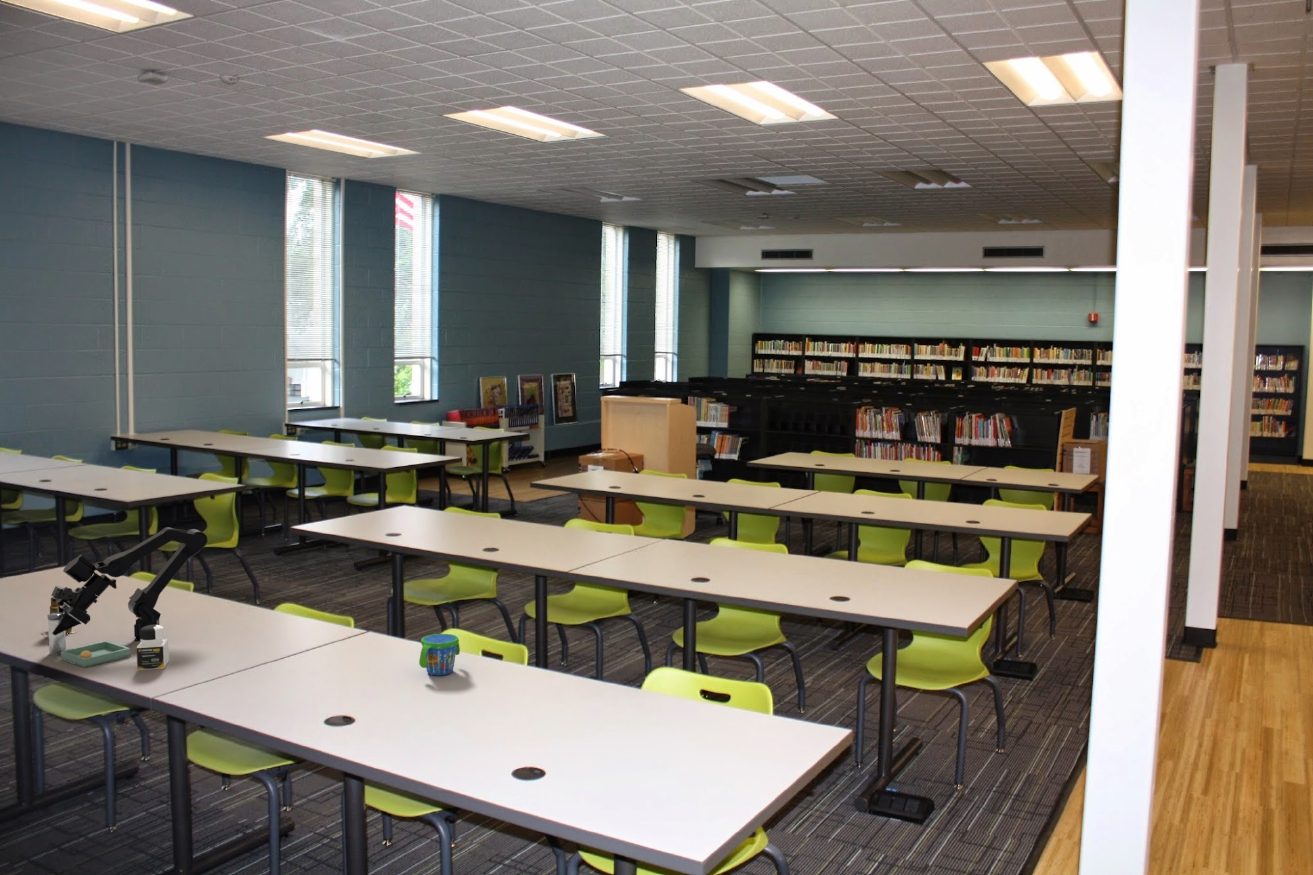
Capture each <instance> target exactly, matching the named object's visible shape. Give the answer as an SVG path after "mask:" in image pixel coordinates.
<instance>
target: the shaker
mask: <svg viewBox="0 0 1313 875" xmlns="http://www.w3.org/2000/svg"><path fill="white" fill-rule="evenodd" d="M62 619H63V613H52V614H50V613H49V614H47V626H48V627H47V628H48V631H49V637H48V646H49V647H48V650H49V655H50V654H51V656H59V655H58V654H61V651H64V650H67V642H66V641H67V639H66V638H67V637H66V636H67V634H66V635H65V631H63V632H61V633H59V634H57V635H54V634H52V633H53V631H54V630H55V628H56V627H57V625H58V624H59V623H60V621H61V620H62Z"/></svg>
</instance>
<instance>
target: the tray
mask: <svg viewBox="0 0 1313 875" xmlns="http://www.w3.org/2000/svg"><path fill="white" fill-rule="evenodd" d="M85 650H88V651H90V652H91V654H92V656H91V657H89V658H83V657H80V654H81V653H82V652H83V651H85ZM131 656H132V654H131V648H130V647H128V646H124V645H121V644H118V643H115V642H112V641H109V640H103V641H99V642H94V643H91V644H87V645H82V646H77V647H74V648H69V649H66V650H64V651H61V655H60V658H61V659H63V660H62V661H64V660H66V661H65V662H67V661H69V662H68V663H70V662H72V663H74V664H73V665H75V664H77V665H76V666H78V665H79V667H81V666H82V667H81V668H83V667H84V669H85V668H89V666H90V667H94V666H97V665H102V664H105V663H110V662H114V661H118V660H122V659H125V658H131ZM61 659H60V660H61ZM72 663H71V664H72Z"/></svg>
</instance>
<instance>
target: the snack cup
mask: <svg viewBox="0 0 1313 875" xmlns="http://www.w3.org/2000/svg"><path fill="white" fill-rule="evenodd" d="M459 641H460V640H459V637H458V636H457V635H456V634H452V633H450V634H449V633H434V634H429V635H426V636H425V635H424V636H423V637H422V638H421V640H420V643H421V646H422V648H421V650H420V656H419V662H418V663H419V666H420V667H421V668H423V669H426V672H427V673H428V674H429V675H431V676H446V675H449V674H451V673H452V672H454V667H455V662H456V661H455V660H456V656H457V655H460V651H461V647H460V642H459Z"/></svg>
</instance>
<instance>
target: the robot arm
mask: <svg viewBox="0 0 1313 875" xmlns="http://www.w3.org/2000/svg"><path fill="white" fill-rule="evenodd" d="M208 541H209V540H208V536H207V535H206V533H204V532H203V531H200V530H199V529H195V528H192V529H191V528H190V529H187V530H185V529H179V528H172V527H167V526H166V527H164V528H163V529H161V530H160V531H158V532H157V533H155V534H154V535H152V536H150V537H148V538H146V539H145V540H143V541H142V542H140V543H138V544H137V545H134V546H133V547H131V548H130V549H128V550H125V551H122V552H118V553H115V554H113V555H110V556H108V557H106V558H105V559H104V560H103V561H98V562H95V563H92V562H90V561H89V560H88V559H87V558H86V557H85V556H83V555H82V554H79V555H78V556H77V557H75V558H74V559H72V560H71V561H69V562H68V563H67V564H66V565H65V567H64V568H63V570H62V571H63V573H65V574H66V575H67V576H69V577H70V578H72V579H73V580H75V582H77V583H78V584H80V583H82V582H83V583H84V584H83V585H82V586H81V587H76V588H75V589H74V590H73V589H72V588H71V587H67V586H65V587H63V586H60V585H55V587H54V589H53V591H52V592H51V597H54V598H56V599H57V600H56V601H55V602H56V603H58V604H59V605H60V607H59V606H58V605H57V610H58V613H63V619H62V620H61V621H60V623H59V624H58V625H57V627H56V628H55V630H54V631H53V633H52V634H54V635H57V634H59V633H61V632H63V631H65V630H67V629H70V628H72V629H73V628H74V627H76V626H79V625H81V624H82V623H83V624H84V625H87V624H88V623H89V622H90V621H91V615H90V614H89V613H88V611H87V610H88V609H90V607H91V606H92V604H97V602H98V599H99V597H100V596H101V595H102V594H103V593H104V592H105V591H106V590H107V588H108V587H111V588H113V589H115V590H116V589H117V579H116V578H119V577H121V576H123V575H124V574H126V573H127V572H128V571H129V570H131V568H132V567H133V566H134V565H135V564H136V563H137V562H138V561H140V560H142V559H144V558H145V557H146V556H148V555H150V554H151V553H153V552H155V551H156V550H158V549H159V548H162V547H163V546H165V545H166V544H168V543H170V542H176V543H178V547H177V549H176V550H175V552H174V554H173V555H171V557H170V558H169V559H168V561H167V562H166V563H165V564H164V566H163V567H162V568H161V569H160V571H159V572H157V574H156V575H155V576H154V578H153V579H152V580H151V582H149V584H148V585H147V586H146V587H144V588H143V589H141V588H139V587H137V589H135V591H134V592H133V594H132V595H131V596H130V597H128V599H129V601H128V603H127V606H128V610H129V612H131V613H132V614H134V615H135V617H136V619H135V624H133V631H134V641H141V634H140V630H141V628H143V627H145V626H148V625H160V617H161V613H160V612H159V611H157V610H156V609H155V607H156V604H157V603H158V599H159V597H160V594H161V593H162V592H163V591H164V589H166V587H167V586H168V585H169V583H171V581H172V580H173V578H174V577H175V576H176V575H177V574H178V572H179V571H180V570H181V569H182V568H183V567H184V565H185V563H187V562H188V560H189V559H190V558H192V557H193V556H195V555H196V554H198V553H199V552H200V551H201V550H202V549H203V548H205V547H206V545H208ZM95 571H97V572H98V573H100V574H101V575H99V574H98V573H97V572H95ZM107 575H108V576H110V577H111V578H112V577H113V578H112V579H111V578H110V577H108V576H107Z"/></svg>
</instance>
